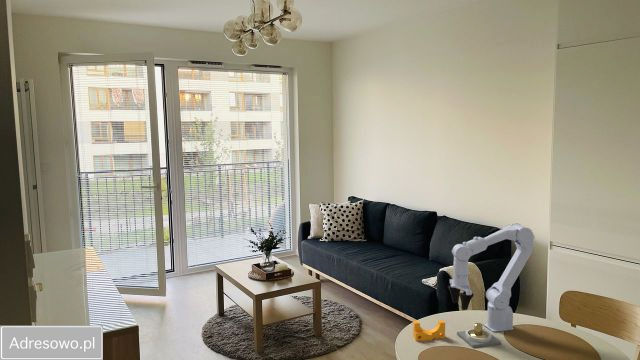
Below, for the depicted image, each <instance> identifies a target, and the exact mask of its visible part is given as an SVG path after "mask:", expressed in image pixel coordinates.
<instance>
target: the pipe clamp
mask: <svg viewBox="0 0 640 360" xmlns="http://www.w3.org/2000/svg"><path fill="white" fill-rule="evenodd" d="M412 325H413V326H412V327H413V328H412V329H413V331H412V332H413V335H412V336H413V338H414V340H415V341H416V342H418V341H420V342H423V341H424V342H426V341H427V342H428V341H433V339H446V322H445V320H444V319H439V320H438V322H437V325H436V326H435V327H434V328H432V329H424V328H422V327H421V323H420V321H419V320H413V324H412Z"/></svg>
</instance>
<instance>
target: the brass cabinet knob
mask: <svg viewBox="0 0 640 360" xmlns="http://www.w3.org/2000/svg"><path fill="white" fill-rule="evenodd" d="M473 326H474V327H473V329H474V331H472V332H471V333H470V336H472V337H475V338H486V334H485V333H483V332H482V329H483V323H481V322H476V323H474V325H473Z"/></svg>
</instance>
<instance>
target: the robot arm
mask: <svg viewBox="0 0 640 360" xmlns="http://www.w3.org/2000/svg"><path fill="white" fill-rule="evenodd" d="M535 238H536V237H535V235H534V232H533V230H532V229H530V228H529V227H526V226H524V225H522V224H521V223H517V222H516V223H515V222H514V223H512V224H511V225H510V224H509V225H506V226H504V228H501V229H499V230H498V231H495V232H494V233H491V234H489V235H488V236H485V237H481V236H474V237H473V238H472V239H471V240H468V241H463V242H462V243H457V244H455V245H454V246H453V248H452V249H451V254H452V255H453V274H452V275H453V277H452V278H451V279H450V278H449V284H450V285H447V289H448V290H449V293H450V296H451V300H452V304H459V301H460V303H461V310H462V311H467V310H468V309H469V305H470V303H471V300H472V298H473V297H474V296H475V295H474V293H473V290H472V289H471V288H470V285H469V259H470V258H471V257H472V256H474V255H477V254H479V253H481V252H483V251H486V250H487V248H488V246H491V245H494V244H496V243H499V242H502V241H504V240H510V241H513V242H514V245H515V246H516V250H515V252H514V254H513V255H512V257H511V259H510V261H509V262H508V264H507V265H506V268H505V270H504V271H503V272H502V274H501V276H500V278H499V280H498V281H497V282H494V283H493V284H492V285H491V287H489V288H488V289H487V290H486V292H485V297H486V300H487V317H486V318H487V321H486V322H483V323H482V326H484V327H486V328H487V329H489V330H490V331H491V332H494V333H496V332H505V331H513V330H515V329H514V327H513V326H514V325H513V324H514V312H513V309H512V307H511V306H510V299H511V297H512V287H513V286H514V284H515V282H516V280H517V279H518V277H519V275H520V273H521V272H522V270H524V267H525V265H526V263H527V261H528V260H529V258H530V256H531V255H532V253H533V251H534V248H533V247H534V240H535ZM461 291H462V292H461Z"/></svg>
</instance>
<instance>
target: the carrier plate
mask: <svg viewBox="0 0 640 360" xmlns="http://www.w3.org/2000/svg"><path fill="white" fill-rule="evenodd" d="M472 331H474V328H468V329H467V330H462V331H456V335H457V336H458V337H459V338H460V339H462V340H463V341H464V342H465V343H466V344H467V345H468V346H470V347H471V348H480V347H488V346H489V347H491V346H497V345H502V341H501V340H500V339H499V338H497V337H496V336H494V335H493V334H492V333H491V332H490V331H488V330H486V329H485V328H482V332H483V333H485V334H486V338H475V337H472V336H470V333H471V332H472Z"/></svg>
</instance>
